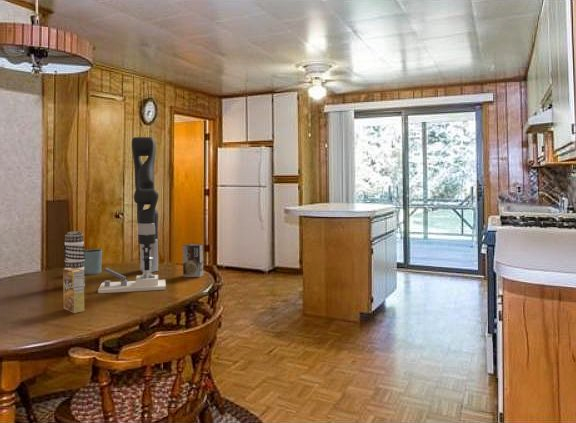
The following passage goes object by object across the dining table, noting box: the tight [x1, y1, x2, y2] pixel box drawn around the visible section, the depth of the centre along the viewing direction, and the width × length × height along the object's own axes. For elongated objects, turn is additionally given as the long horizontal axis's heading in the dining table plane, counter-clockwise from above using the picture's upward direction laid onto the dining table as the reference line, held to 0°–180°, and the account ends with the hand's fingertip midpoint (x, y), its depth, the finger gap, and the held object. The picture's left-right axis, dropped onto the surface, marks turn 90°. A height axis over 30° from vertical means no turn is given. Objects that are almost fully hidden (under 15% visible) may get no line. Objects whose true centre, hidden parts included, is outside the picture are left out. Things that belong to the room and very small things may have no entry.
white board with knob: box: [97, 274, 167, 294], centre depth 208 cm, size 15×28×4 cm, turn 105°
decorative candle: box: [62, 230, 86, 287], centre depth 210 cm, size 9×9×25 cm
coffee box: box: [182, 243, 204, 278], centre depth 235 cm, size 9×6×16 cm
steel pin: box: [141, 257, 153, 279], centre depth 209 cm, size 5×5×12 cm
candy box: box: [62, 267, 85, 314], centre depth 170 cm, size 9×4×15 cm, turn 50°
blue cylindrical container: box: [83, 248, 103, 275], centre depth 242 cm, size 10×10×12 cm
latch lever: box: [104, 267, 127, 281], centre depth 205 cm, size 4×10×1 cm, turn 105°
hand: (147, 268), depth 209 cm, fingers open, 8 cm apart
